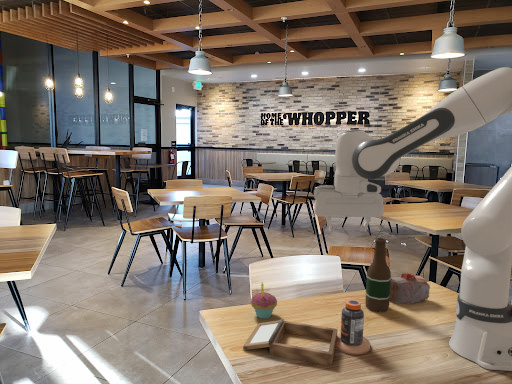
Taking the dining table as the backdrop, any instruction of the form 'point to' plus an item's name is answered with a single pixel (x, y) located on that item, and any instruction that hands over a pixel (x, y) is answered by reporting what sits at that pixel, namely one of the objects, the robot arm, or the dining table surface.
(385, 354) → the dining table surface
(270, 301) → the cupcake
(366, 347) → the pink round plate
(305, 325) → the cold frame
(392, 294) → the food item
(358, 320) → the pill bottle
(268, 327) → the lid
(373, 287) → the beer bottle
